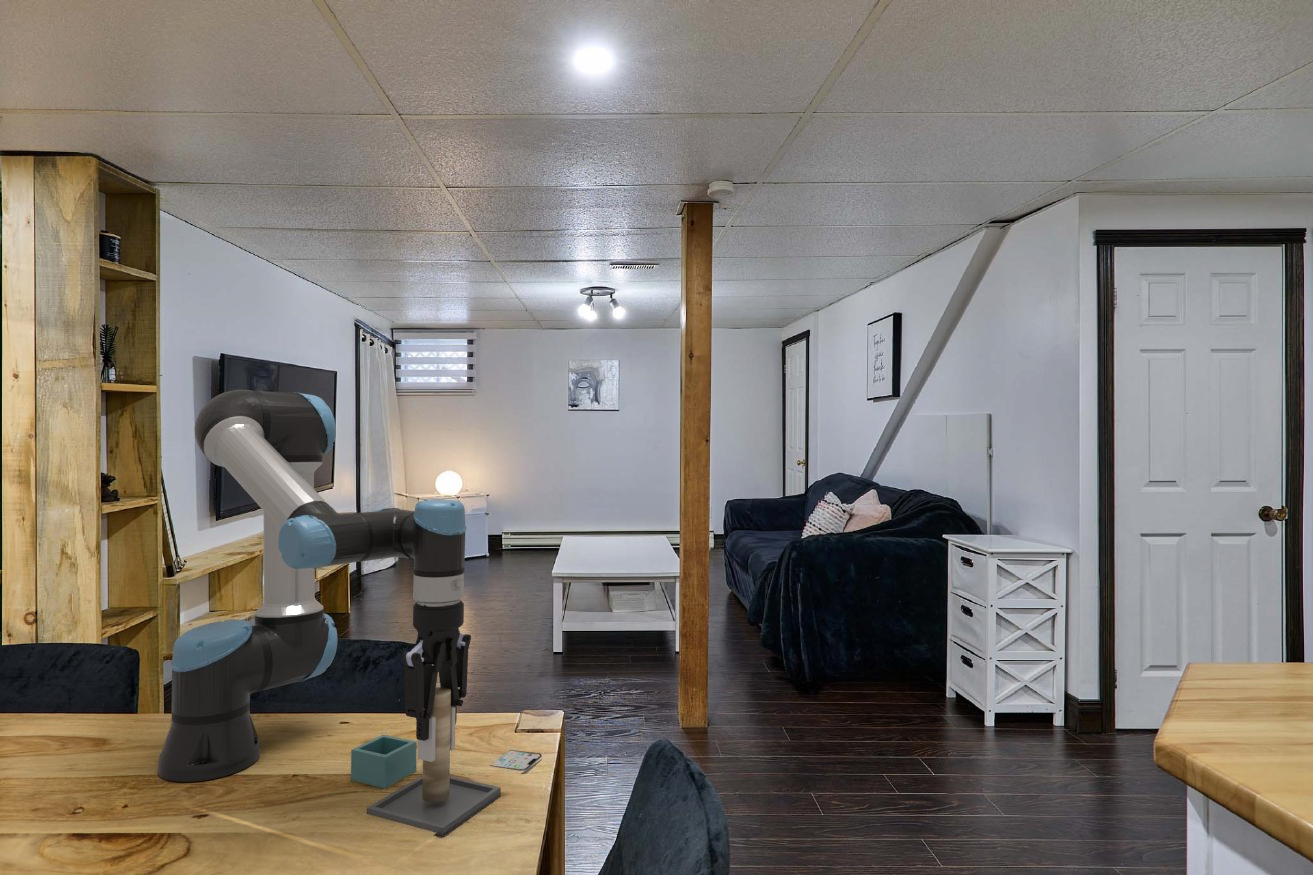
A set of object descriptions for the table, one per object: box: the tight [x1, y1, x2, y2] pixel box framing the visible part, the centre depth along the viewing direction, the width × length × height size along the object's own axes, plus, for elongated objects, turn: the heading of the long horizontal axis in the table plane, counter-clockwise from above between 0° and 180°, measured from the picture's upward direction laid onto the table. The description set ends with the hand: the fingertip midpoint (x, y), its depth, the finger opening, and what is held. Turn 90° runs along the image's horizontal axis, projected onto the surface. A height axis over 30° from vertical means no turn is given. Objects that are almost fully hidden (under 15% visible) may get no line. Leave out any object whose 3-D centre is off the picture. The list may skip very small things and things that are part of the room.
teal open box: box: [350, 734, 418, 789], centre depth 126 cm, size 7×7×6 cm
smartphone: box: [489, 749, 542, 775], centre depth 134 cm, size 7×1×15 cm
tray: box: [366, 774, 502, 839], centre depth 117 cm, size 14×14×1 cm
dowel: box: [422, 687, 451, 802], centre depth 117 cm, size 4×4×16 cm
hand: (436, 753), depth 117 cm, fingers closed on dowel, 4 cm apart
